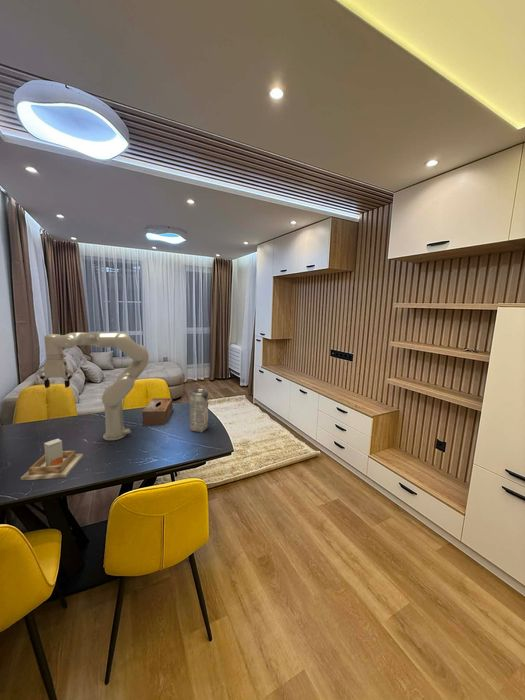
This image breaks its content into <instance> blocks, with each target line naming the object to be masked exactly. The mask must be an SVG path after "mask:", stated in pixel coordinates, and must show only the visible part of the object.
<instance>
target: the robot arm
mask: <svg viewBox="0 0 525 700" xmlns="http://www.w3.org/2000/svg"><path fill="white" fill-rule="evenodd" d="M43 340H44V349H45V358H46V359H45V360H44V364H43V367H44V368H43V370H42V371H39V372H37V375H38V376H39V378H40V379H41V380H42V381H43V384H44V388H45V389H49V388H50V387H51V385H50V384H51V383H50V379H52V378H54V379H55V378H59V379H60V378H62V379H64V388H65V389H68V388H69V387H70V385H71V383H70V380H71V379H72V378H73V376H74V375H75V372H74V371H73V370H70V369H69V368H68V367H69V366H68V363H67V359H66V357H67V354H64V350H63V349H73V348H75V347H76V346H94V347H96V348H116V349H119V351H121V352H123V354H125V355H127V357H129V358H130V359H132V361H131V362H130V364H129V365H127V367H126V368H125V369H124V370H123V371H122V372H121V373H120V374H119V375H118V376H117V378H116V380H115V382H114V383H112V385H108V386H107V387H106V388H105V389H104V391H103V393H102V396H101V403H102V404H103V407H104V419H105V420H104V422H105V423H104V424H105V432H104V433H103V435H102V438H103V440H106V441H116V440H120V439H122V438H124V437H126V436H127V434H131V433H132V430H131V429H130V428H126V427H125V426H124V414H123V413H124V412H123V411H124V410H123V409H124V408H123V399H124V398H125V397H126V396H127V395H128V394H129V393H130V392H131V391H132V389H134V386H135V382H136V381H137V379H138V378H140V376H141V375H142V373H143V372H144V371H145V370H146V368H147V367H148V364H149V352H148V349H147V348H146V346H144V345H143V344H138V343H137V342H135V340H133V339H132V338H131V335H129V334H128V333H126V332H69V333H67V334H64V335H63V334H57V333H49V334H45V335H44V338H43Z"/></svg>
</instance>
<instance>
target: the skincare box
mask: <svg viewBox="0 0 525 700" xmlns="http://www.w3.org/2000/svg"><path fill="white" fill-rule="evenodd" d="M43 446H44V454H45V460H46V466H57V465H59V464H61V463H62V462H63V451H64V450H63V440H61V439H60V438H56V439H52V440H49V441H46V442H44V443H43Z"/></svg>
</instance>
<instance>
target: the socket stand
mask: <svg viewBox="0 0 525 700" xmlns="http://www.w3.org/2000/svg"><path fill="white" fill-rule="evenodd" d="M83 457H84V454H83V453H77V450H63V462H62V463H61V464H59V465H57V466H46V460H45V453H44V454H43V455H42V456H41V457H40V458H38V459H37V460H36V461H35V462H34V463H33V464H32V465H31V466H30V467H29V468H28V470H27V471H26V472H25V473H24V474H23V475H22V476H20V481H32V480H35V481H36V480H47V479H59V478H66V477H67V476H68V475H69V474H70V473H71V471H72V470H74V468H75V466H77V464H78V463H79V461H80V460H81V459H82V458H83Z"/></svg>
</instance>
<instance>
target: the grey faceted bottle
mask: <svg viewBox="0 0 525 700" xmlns="http://www.w3.org/2000/svg"><path fill="white" fill-rule="evenodd" d="M208 426H209V392H208V391H205V390H204V389H203V388H198V389H195V390H192V391H191V392H189V430H190V431H192V432H195V433H196V432H197V433H203V432H205V431H206V430H207V429H208Z"/></svg>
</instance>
